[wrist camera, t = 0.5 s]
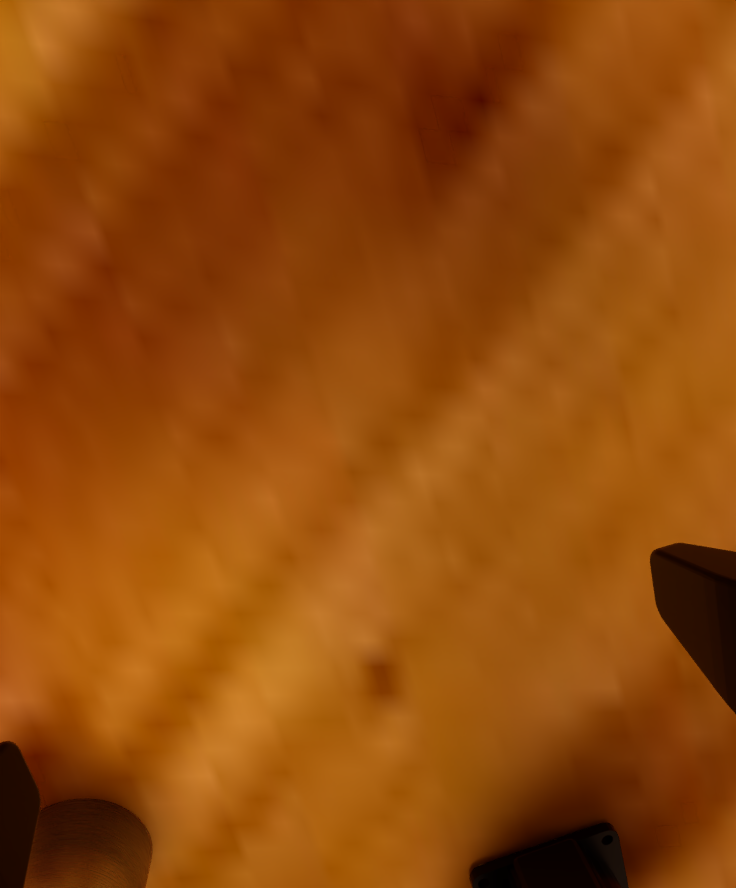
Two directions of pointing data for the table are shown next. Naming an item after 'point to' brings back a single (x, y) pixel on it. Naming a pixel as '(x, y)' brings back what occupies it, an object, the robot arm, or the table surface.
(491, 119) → the table surface
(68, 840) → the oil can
